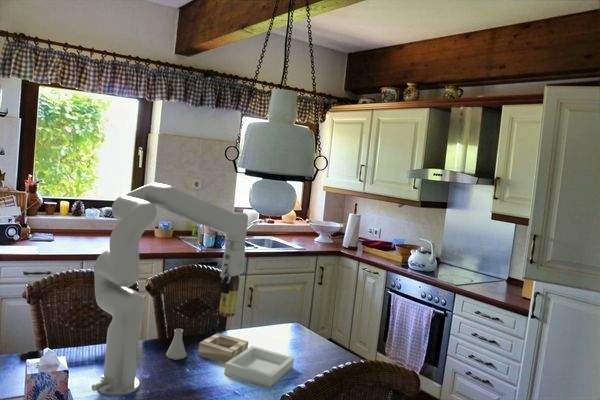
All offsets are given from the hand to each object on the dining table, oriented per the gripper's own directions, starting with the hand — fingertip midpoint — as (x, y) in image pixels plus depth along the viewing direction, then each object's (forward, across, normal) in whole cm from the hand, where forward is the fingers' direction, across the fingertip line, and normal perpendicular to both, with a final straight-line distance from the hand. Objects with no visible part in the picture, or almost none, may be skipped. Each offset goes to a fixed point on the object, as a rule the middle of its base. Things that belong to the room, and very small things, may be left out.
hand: (229, 290), depth 190 cm
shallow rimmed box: (+25, 0, 0) cm, 25 cm away
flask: (+26, -12, +13) cm, 31 cm away
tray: (+25, -4, -18) cm, 31 cm away
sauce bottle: (+10, 0, 0) cm, 10 cm away
